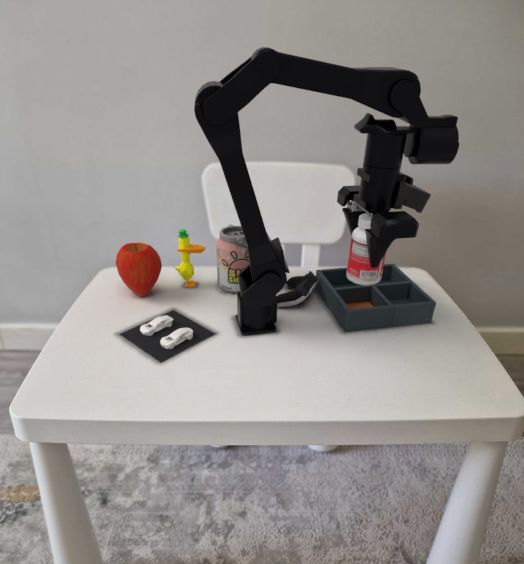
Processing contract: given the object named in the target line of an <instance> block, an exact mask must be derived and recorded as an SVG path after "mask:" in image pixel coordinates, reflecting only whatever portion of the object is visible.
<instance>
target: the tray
mask: <svg viewBox="0 0 524 564" xmlns="http://www.w3.org/2000/svg"><path fill="white" fill-rule="evenodd" d="M346 273H347V267H335V268H334V267H333V268H323V269H316V270H315V276H316V277H317V279H318V282H317V284H316V285H315V286H314V290H315V291H316V293H317V294H318V296H319V297H320V299H321V300H322V301H323V304H324V305H325V306H326V307H327V309H328V310H329V312H330V313H331V315H332V316H333V317H334V320H336V322H337V323H338V325H339V326H340V327H341V329H342V330H343V332H344V333H349V332H357V331H358V332H359V331H367V330H375V329H386V328H392V327H402V326H410V325H419V324H420V325H421V324H428V323H429V324H430V323H432V321H433V317H434V313H435V309H436V306H437V301H435V300H434V299H433V298H432V297H431V296H430V295H429V294H428V293H427V292H426V291H424V290H423V288H421V287H420V286H419V285H418V284H417V283H415V282H414V281H413V279H411V278H410V277H409V276H408V275H407V274H406V273H405V272H403V270H401V269H400V267H398V266H397V265H396V264H395V263H384V267H383V272H382V277H381V280H380V281H379V282H378V283H376V284H374V285H359V284H356V283H353V282H351V281H350V280H349V279H348V278H347V276H346Z"/></svg>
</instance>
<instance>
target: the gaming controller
mask: <svg viewBox="0 0 524 564" xmlns="http://www.w3.org/2000/svg"><path fill="white" fill-rule="evenodd" d="M317 282H318V279H317V277H316V274H315V273H314V272H312V271H311V270H309V271H308V272H307V273H306V274H305V275H295V276H291V277H289V278H287V283H286V284H285V285H286V287H287V289H288V288H289V289H291V290H290V291H286V292H283V293H280V294H277V295H276V297H275V300H276V302H277V304H278V306H277V308H285V307H292V306H296V305H298V306H299V305H301V304H302V303H303V302H304V301H305V300H306V298H308V297H309V295H310V294H311V292H312V291H313V290H314V289H315V285H316V284H317Z"/></svg>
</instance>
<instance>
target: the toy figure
mask: <svg viewBox="0 0 524 564" xmlns="http://www.w3.org/2000/svg"><path fill="white" fill-rule="evenodd" d="M178 233H179V234H178V235H177V238H178V247H177V248H176V249H177V252H179V253H180V257H181V263H180V264H179V265H173V267H174V268H175V270H176V271H177V272H178V274H179V275H180V276H181V278H182V279H183V281H186V283H185V285H184V286H185V288H195V287H196V283H197V282H196V280H195V281H194V280H191V279H192V278H193V276H194V275H195V267H194V265H193V264H192V262H190V260H191V259H190V258H191V254H202V253H203V252H204V251H206V246H204V245H202V244H194V243H193V244H192V243H190V234H189V233H187V229H186V228H182V229H179V230H178Z"/></svg>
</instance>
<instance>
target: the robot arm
mask: <svg viewBox="0 0 524 564" xmlns="http://www.w3.org/2000/svg"><path fill="white" fill-rule="evenodd" d="M271 84H275V85H279V86H285V87H290V88H295V89H300V90H305V91H309V92H314V93H319V94H325V95H329V96H334V97H339V98H344V99H349V100H352V101H354V102H357V103H359V104H361V105H363V106H366V107H368V108H370V109H373V110H374V111H377V112H379V113H381V114H384V115H385V116H388V117H390V118H394V119H398V120H400V121H402V122H405V123H406V124H409V125H407V126H406V125H397V123H396V121H395V120H394V119H390V118H387V119H385V118H384V119H383V118H382V119H381V118H380V119H379V118H375V117H374V115H373V114H371V113H369V112H366V113H365V114H364V116H363V118H361V119H360V120H358V122H356V123H355V124H354V126H353V129H354V130H356V131H357V132H358V133H360V134H362V135H363V134H366V141H365V148H364V156H363V161H362V167H357V171H356V175H357V176H358V177H360V181H359V185H357V184H356V185H342V187H341V188H340V189H339V190H338V191H337V196H336V197H337V198H336V203H337V204H339V205H340V206H341V207H342V208H341V210H342V211H341V212H343V215H344V217H345V221H346V224H347V226H348V230H349V233H350V236H351V237H352V233H353V231H354V230H355V229H356V228H357V227H359V226H358V221H359V216H360V215H361V214H364V213H367V214H369V215H370V216H373V217H372V218H371V223H370V228H371V229H365V233H366V240H367V247H368V253H369V260H370V265H371V267H372V268H375V267H378V265H379V264H380V262H381V260H382V258H383V257H384V255H385V253H386V254H387V252H386V251H388V250H389V248H390V246H391V245H392V244H393V242H394V241H395V240H398V239H399V240H400V239H413V238H416V237H417V235H418V232H419V227H420V223H419V221H418V220H417V218H415V217H414V216H412V215H411V214H410V213H408V212H407V211H406V210H402V209H403V206H404V207H406V208H409V209H412V210H414V211H415V212H416V213H419V214H422V212H423V211H424V209H425V207H426V205H427V203H428V202H429V200H430V198H431V196H432V194H431V193H430V192H428V191H426V190H424V189H423V188H421V187H419V186H416V184H414V178H413V177H411V176H410V175H408V174H406V173H403V172H401V170H402V169H401V168H402V165H403V158H407V159H408V162H409V164H411V165H450V164H452V162H453V161H454V160H455V159H456V156H457V154H458V152H459V148H460V142H459V139H460V137H459V129H458V126H457V125H458V124H457V123H458V121H459V117H458V116H457V115H454V114H442V115H429V114H428V112H427V110H426V108H425V106H424V102H423V101H422V99H421V93H422V87H421V82H420V80H419V76H418V75H417V74H416V73H415V72H413V71H411V70H410V69H409V70H408V69H404V68H398V67H395V66H393V67H392V66H368V67H366V66H365V67H350V66H344V65H341V64H336V63H333V62H326V61H322V60H318V59H314V58H308V57H305V56H299V55H294V54H291V53H285V52H281V51H277V50H276V49H274V48H272V47H267V46H261V47H259V48H257V49H256V50H255V51H254V52H253V53H252V55H251V56H250V57H248V58H247V59H246V60H245V61H244V62H242V63H241V64H239V65H238V66H237V67H236V68H234V69H233V70H231V71H230V72H229V73H228V74H226V75H225V76H224V77H223V78H221V80H219V81H216V80H212V81H207V82H205V83H203V84H202V85H201V86H200V87H199V89H197V92H196V95H195V97H194V109H193V110H194V116H195V119H196V121H197V123H198V125H199V127H200V129H201V131H202V133H203V135H204V136H205V138H206V140H207V142H208V144H209V145H210V147H211V149H212V151H213V152H214V154H215V156H216V157H217V160H218V161H219V164H220V167H221V170H222V172H223V173H222V174H223V176H224V178H225V183H226V185H227V188H228V190H229V194H230V197H231V199H232V203H233V205H234V209H235V212H236V215H237V218H238V220H239V224H240V226H241V227H242V230H243V233H244V236H245V239H246V242H247V250H248V257H249V265H248V266H247V267H246V268H245V269H244V270H242V271H241V272H240V273H239V274H238V280H239V287H240V292H237V293H236V311H237V312H236V313H237V314H236V315H235V317H234V318H235V321H236V323H237V326H238V330H239V332H240V335H242V336H247V335H255V334H263V333H264V334H265V333H275V332H277V326H276V324H277V323H278V307H277V306H278V304H277V302H276V300H275V297H276V296H277V295H278V293H280V292H281V291H282V290H283V289H284V287H285V286H286V285H287V284H286V283H287V280H288V278H287V274H290V273H291V272H290V268H289V266H288V263H287V260H286V257H285V253H284V249H283V246H282V243H281V241H280V238H279V237H276V238H274V239H273V238H272V239H271V237H270V235H269V233H268V232H267V230H266V226H265V222H264V220H263V219H264V218H263V216H262V213H261V209H260V206H259V204H258V200H257V195H256V193H255V189H254V186H253V183H252V179H251V175H250V172H249V169H248V166H247V163H246V159H245V156H244V152H243V144H242V134H241V124H240V118H239V112H240V111H241V110H243V109H244V108H246V107H247V106H248V105H249V104H250V103H251V102H252V101H253V100H254V99H255V98H256V97H257V96H258V95H259V94H260V93H262V91H263V90H264V89H266V88H267V87H268V86H269V85H271ZM391 209H393V211H391ZM394 210H398V211H394Z"/></svg>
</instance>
